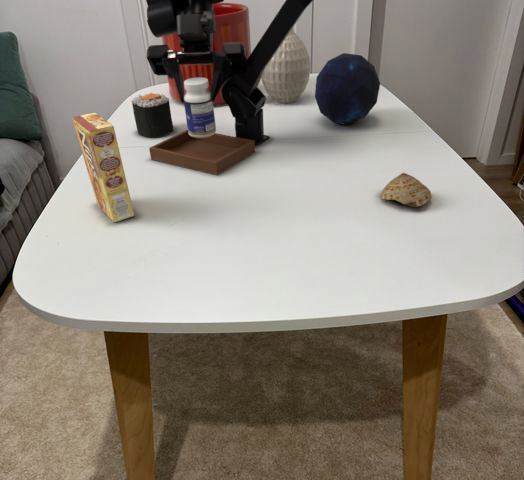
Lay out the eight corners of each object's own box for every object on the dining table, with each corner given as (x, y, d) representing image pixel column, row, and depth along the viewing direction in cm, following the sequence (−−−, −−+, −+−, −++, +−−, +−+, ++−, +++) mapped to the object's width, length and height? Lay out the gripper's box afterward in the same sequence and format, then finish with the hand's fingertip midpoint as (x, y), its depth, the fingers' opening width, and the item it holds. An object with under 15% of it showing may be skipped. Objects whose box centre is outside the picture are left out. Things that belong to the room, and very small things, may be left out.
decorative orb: (349, 115, 108) (377, 42, 105) (293, 103, 116) (318, 35, 113) (373, 140, 120) (399, 76, 117) (321, 128, 128) (344, 68, 125)
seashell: (408, 204, 83) (381, 170, 85) (395, 228, 88) (370, 195, 90) (446, 192, 85) (419, 160, 88) (431, 216, 90) (406, 184, 93)
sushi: (157, 123, 125) (151, 88, 120) (180, 130, 121) (174, 94, 116) (131, 133, 121) (124, 97, 116) (153, 140, 117) (147, 103, 111)
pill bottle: (188, 130, 106) (181, 77, 99) (216, 128, 106) (210, 75, 99) (188, 139, 101) (180, 85, 95) (216, 137, 102) (211, 83, 95)
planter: (243, 108, 132) (237, 16, 118) (159, 107, 135) (144, 18, 122) (259, 84, 149) (256, 1, 135) (184, 84, 152) (174, 3, 139)
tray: (191, 139, 116) (190, 128, 114) (255, 152, 108) (254, 140, 107) (151, 159, 108) (149, 147, 106) (217, 175, 100) (216, 162, 98)
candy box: (136, 216, 88) (115, 124, 78) (112, 223, 86) (88, 130, 76) (117, 199, 94) (95, 111, 84) (95, 205, 92) (70, 116, 82)
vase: (310, 106, 131) (312, 31, 120) (261, 108, 131) (258, 33, 120) (308, 92, 141) (309, 21, 130) (261, 94, 141) (259, 23, 130)
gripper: (138, -6, 92) (136, 78, 91) (241, -10, 90) (239, 75, 90) (155, 36, 103) (154, 110, 102) (247, 32, 102) (246, 108, 101)
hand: (196, 101), depth 98 cm, fingers closed on pill bottle, 6 cm apart
